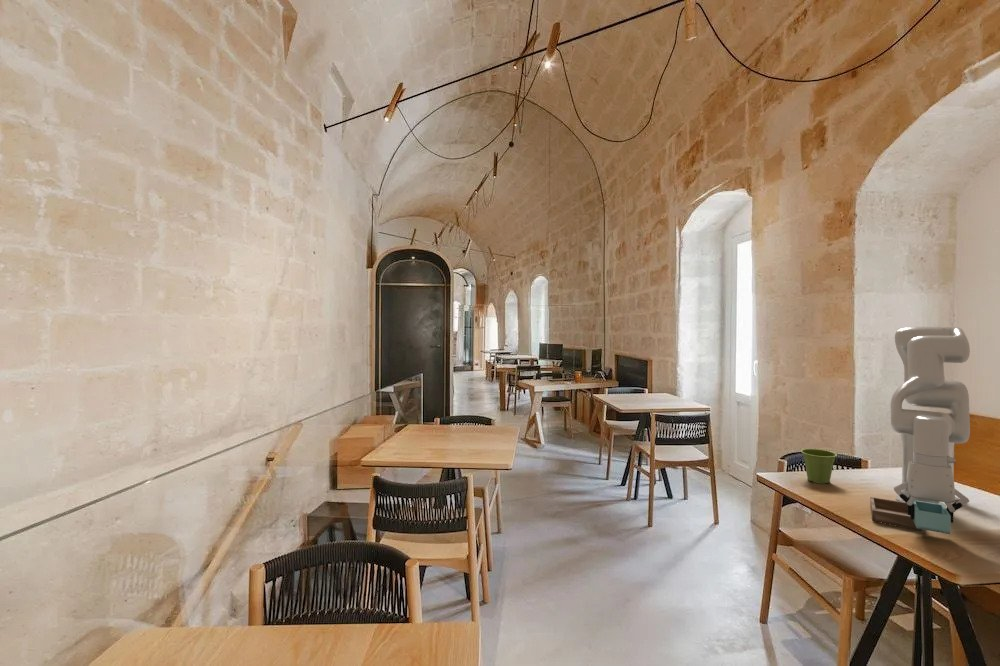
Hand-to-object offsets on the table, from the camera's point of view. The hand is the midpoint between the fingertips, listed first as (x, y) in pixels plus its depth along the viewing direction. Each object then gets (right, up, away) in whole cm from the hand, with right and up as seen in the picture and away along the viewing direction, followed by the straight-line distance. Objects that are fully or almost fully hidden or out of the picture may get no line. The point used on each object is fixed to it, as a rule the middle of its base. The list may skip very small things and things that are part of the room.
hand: (929, 520), depth 138 cm
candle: (+34, -4, +32) cm, 47 cm away
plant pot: (+1, -4, +50) cm, 50 cm away
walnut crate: (+1, -4, +13) cm, 14 cm away
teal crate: (-1, -1, -1) cm, 1 cm away
